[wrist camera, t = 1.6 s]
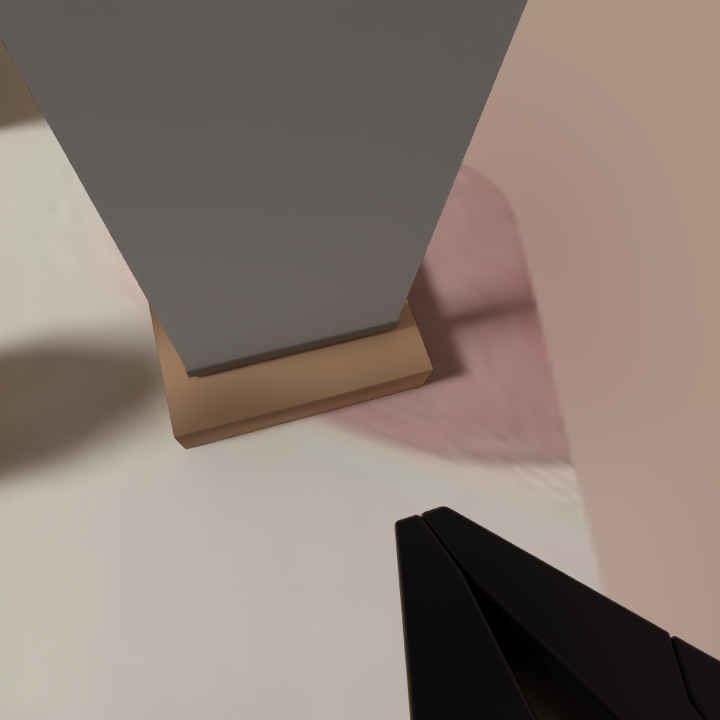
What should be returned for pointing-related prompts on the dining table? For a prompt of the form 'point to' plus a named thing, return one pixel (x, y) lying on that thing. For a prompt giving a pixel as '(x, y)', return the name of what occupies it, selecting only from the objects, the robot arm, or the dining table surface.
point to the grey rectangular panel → (264, 150)
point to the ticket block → (289, 382)
